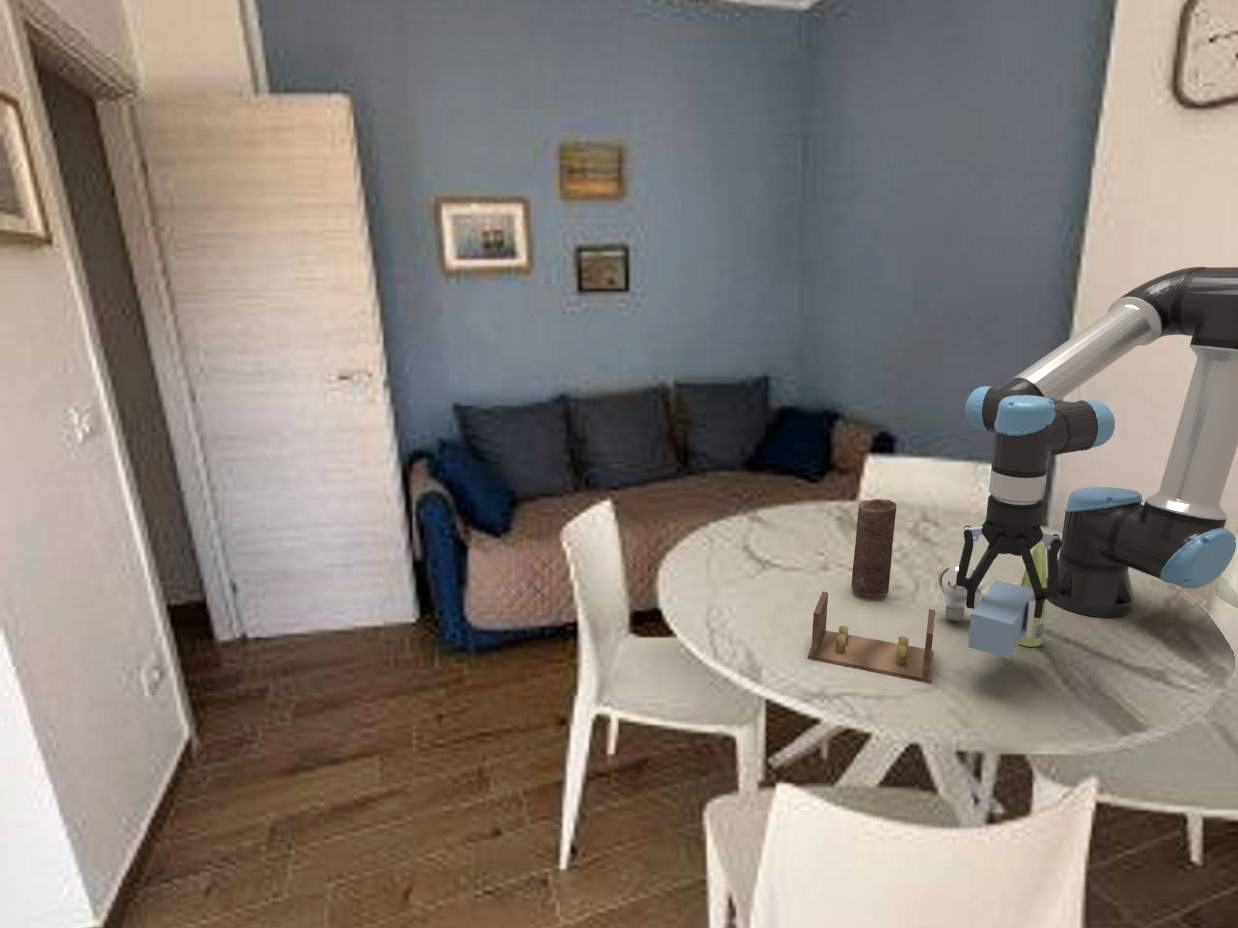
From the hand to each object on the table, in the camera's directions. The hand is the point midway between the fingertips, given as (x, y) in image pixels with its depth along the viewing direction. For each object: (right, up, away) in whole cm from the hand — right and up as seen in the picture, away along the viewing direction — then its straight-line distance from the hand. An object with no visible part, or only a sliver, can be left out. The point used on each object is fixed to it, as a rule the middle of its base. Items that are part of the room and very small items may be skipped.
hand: (1000, 629), depth 119 cm
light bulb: (+2, -3, +20) cm, 21 cm away
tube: (+11, -5, +13) cm, 18 cm away
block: (0, -1, 0) cm, 1 cm away
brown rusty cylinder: (-10, 0, +32) cm, 34 cm away
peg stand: (-18, -7, +9) cm, 21 cm away
